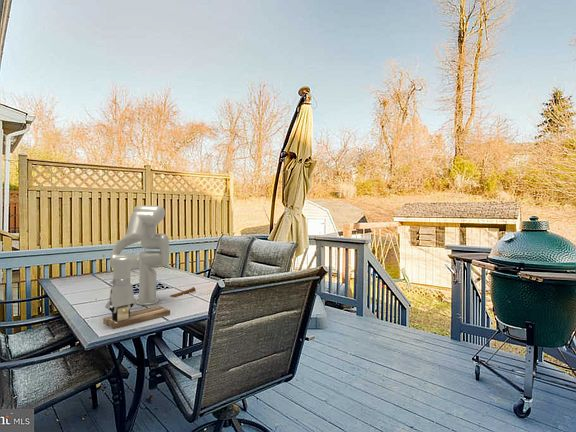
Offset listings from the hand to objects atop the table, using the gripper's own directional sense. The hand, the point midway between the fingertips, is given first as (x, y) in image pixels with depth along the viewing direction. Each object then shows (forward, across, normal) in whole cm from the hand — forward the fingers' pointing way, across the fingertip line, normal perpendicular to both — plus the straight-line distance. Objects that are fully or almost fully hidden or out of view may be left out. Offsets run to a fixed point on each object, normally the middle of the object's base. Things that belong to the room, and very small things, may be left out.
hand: (121, 318), depth 155 cm
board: (+3, +9, +2) cm, 10 cm away
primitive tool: (+4, +53, +29) cm, 61 cm away
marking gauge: (0, 0, 0) cm, 0 cm away
